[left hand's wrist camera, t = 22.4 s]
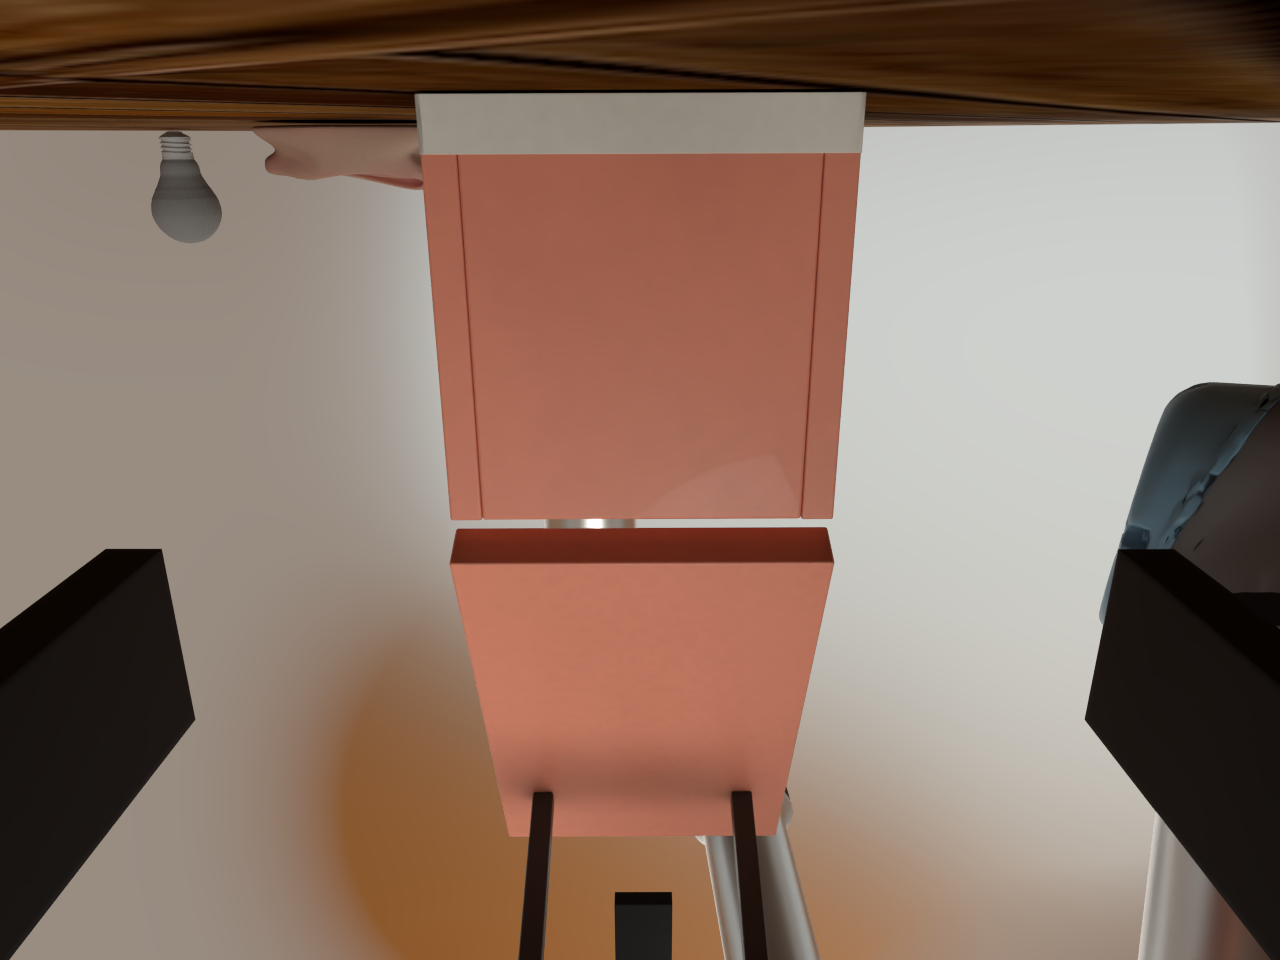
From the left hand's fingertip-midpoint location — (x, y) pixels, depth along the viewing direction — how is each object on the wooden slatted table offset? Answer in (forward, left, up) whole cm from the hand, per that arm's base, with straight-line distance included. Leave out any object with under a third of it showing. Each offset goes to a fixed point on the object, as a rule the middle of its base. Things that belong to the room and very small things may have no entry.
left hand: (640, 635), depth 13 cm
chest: (-13, +12, -7) cm, 19 cm away
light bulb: (-31, +84, -7) cm, 90 cm away
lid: (-11, +9, +10) cm, 17 cm away
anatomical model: (-25, +44, -7) cm, 51 cm away
